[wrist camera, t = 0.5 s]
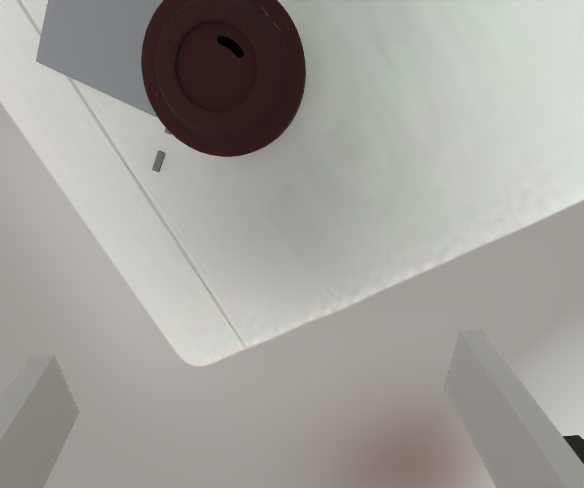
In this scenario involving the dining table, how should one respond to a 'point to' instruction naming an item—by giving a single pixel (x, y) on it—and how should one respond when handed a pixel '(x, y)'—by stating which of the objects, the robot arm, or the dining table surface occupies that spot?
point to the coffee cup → (223, 72)
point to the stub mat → (99, 45)
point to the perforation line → (159, 157)
